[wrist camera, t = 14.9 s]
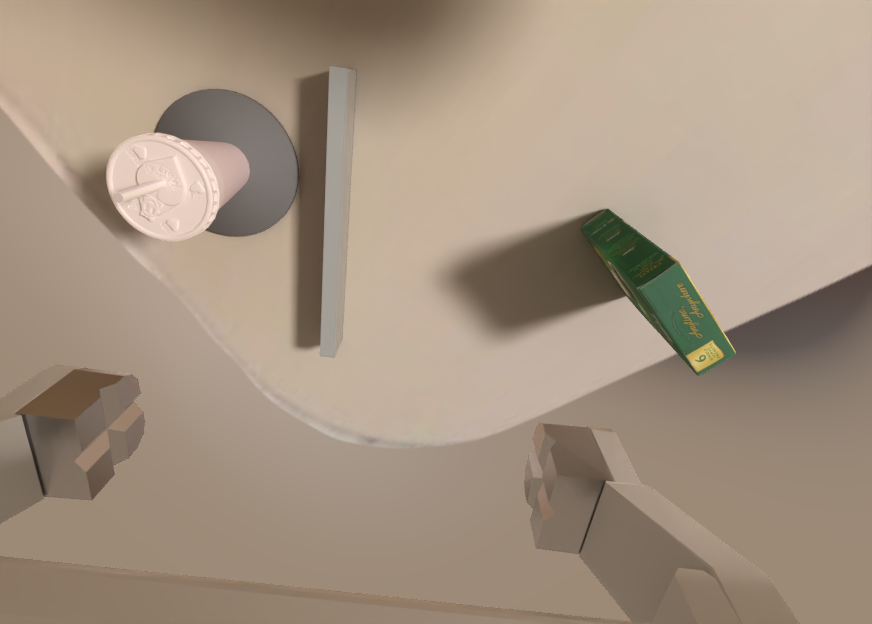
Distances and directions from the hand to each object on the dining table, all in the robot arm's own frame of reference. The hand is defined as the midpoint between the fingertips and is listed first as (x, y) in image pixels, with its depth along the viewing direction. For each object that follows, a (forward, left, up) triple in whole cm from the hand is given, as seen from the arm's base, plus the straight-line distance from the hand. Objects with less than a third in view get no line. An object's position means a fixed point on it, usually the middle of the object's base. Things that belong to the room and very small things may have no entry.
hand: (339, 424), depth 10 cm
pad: (+1, -15, -31) cm, 34 cm away
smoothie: (+1, -15, -31) cm, 34 cm away
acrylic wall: (+4, -6, -31) cm, 32 cm away
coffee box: (+4, +17, -31) cm, 36 cm away
